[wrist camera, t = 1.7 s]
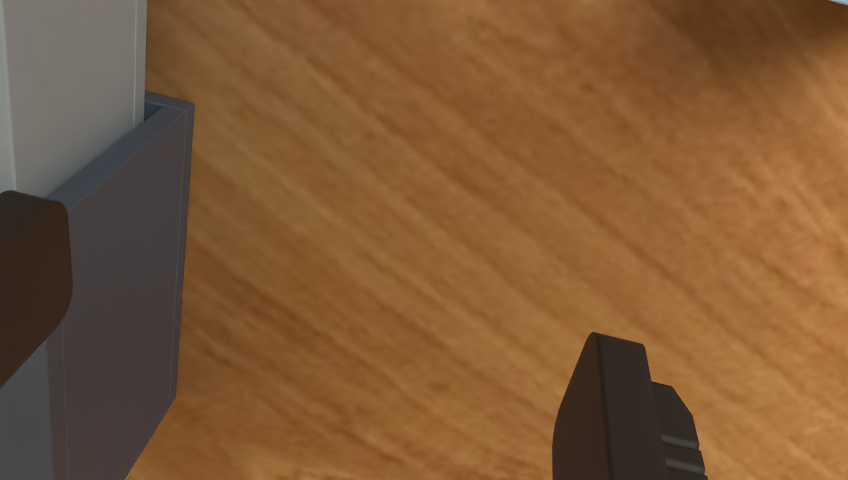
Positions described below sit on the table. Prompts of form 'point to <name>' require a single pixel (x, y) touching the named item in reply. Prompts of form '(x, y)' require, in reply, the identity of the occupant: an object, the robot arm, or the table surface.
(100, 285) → the cabinet
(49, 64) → the drawer
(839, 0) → the block
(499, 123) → the table surface
